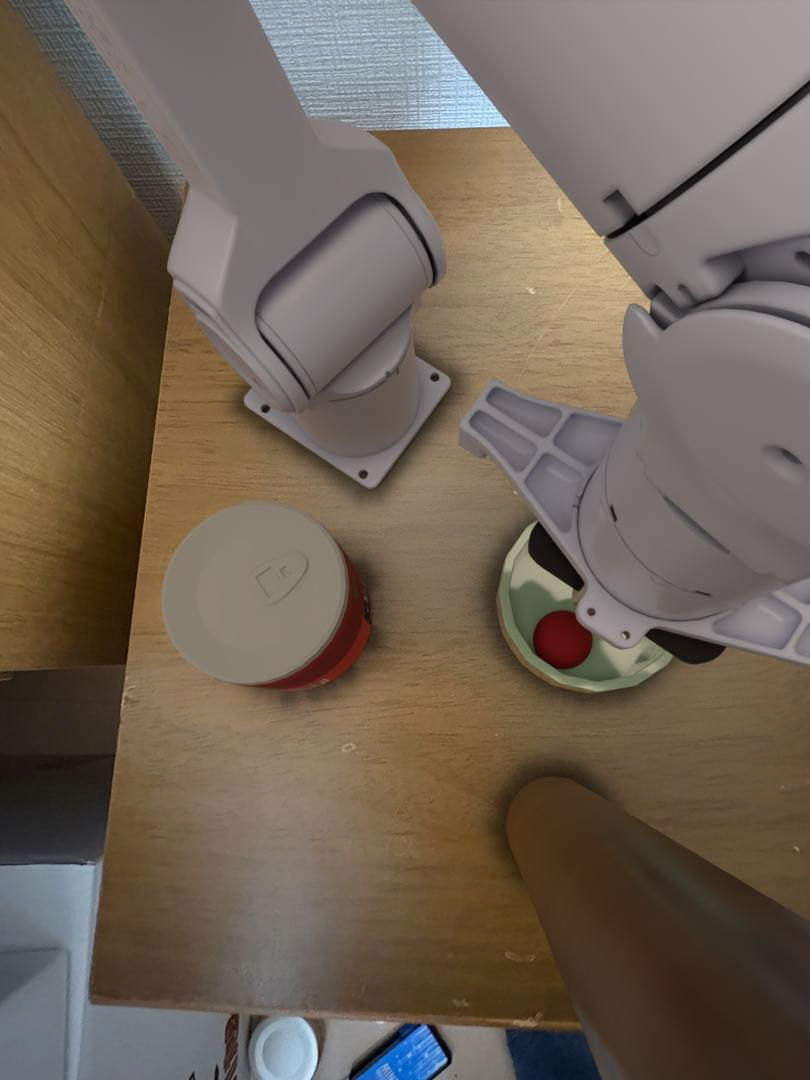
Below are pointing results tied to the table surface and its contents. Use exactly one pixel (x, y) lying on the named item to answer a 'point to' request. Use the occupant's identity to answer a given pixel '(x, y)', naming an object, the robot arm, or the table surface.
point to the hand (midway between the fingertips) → (614, 576)
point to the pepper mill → (661, 945)
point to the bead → (562, 640)
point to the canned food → (265, 599)
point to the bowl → (539, 593)
